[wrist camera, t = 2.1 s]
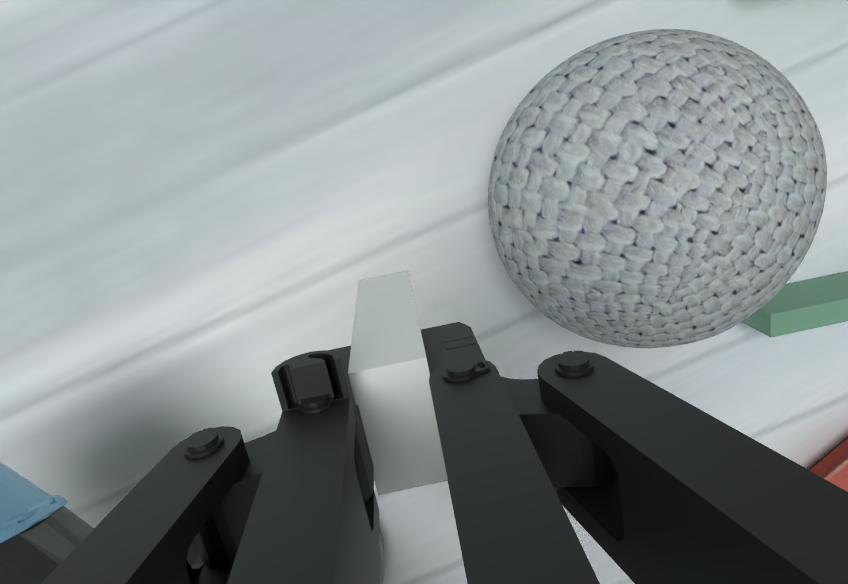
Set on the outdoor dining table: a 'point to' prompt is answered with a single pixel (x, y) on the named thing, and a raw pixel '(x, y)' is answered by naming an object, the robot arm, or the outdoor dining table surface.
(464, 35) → the outdoor dining table surface
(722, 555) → the robot arm
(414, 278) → the outdoor dining table surface
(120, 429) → the outdoor dining table surface
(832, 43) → the outdoor dining table surface
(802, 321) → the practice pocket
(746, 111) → the decorative ball
